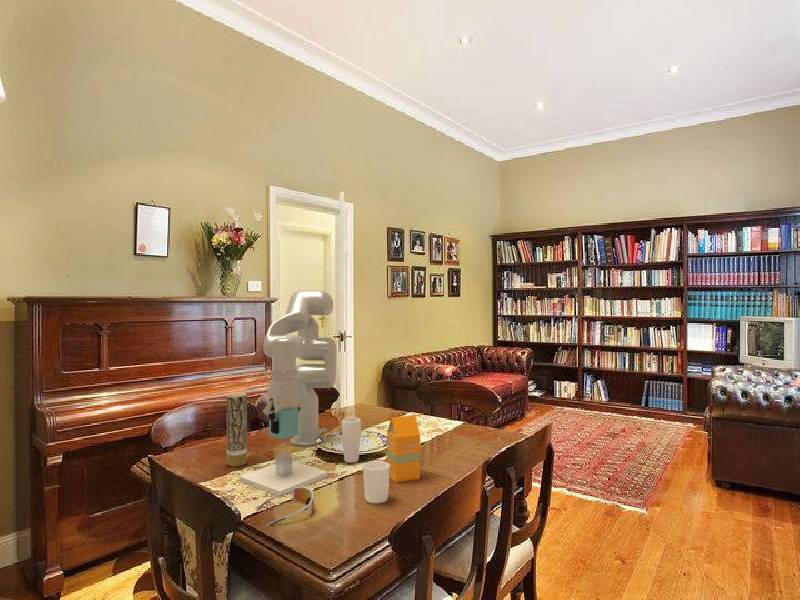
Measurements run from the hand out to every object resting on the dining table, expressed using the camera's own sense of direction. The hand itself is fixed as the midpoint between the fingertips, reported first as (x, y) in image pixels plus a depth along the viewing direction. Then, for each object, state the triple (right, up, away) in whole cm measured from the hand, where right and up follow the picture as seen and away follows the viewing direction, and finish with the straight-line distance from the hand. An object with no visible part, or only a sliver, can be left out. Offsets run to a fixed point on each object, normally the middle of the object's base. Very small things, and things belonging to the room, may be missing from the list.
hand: (283, 430), depth 160 cm
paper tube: (-20, -16, +14) cm, 29 cm away
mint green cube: (0, -2, 0) cm, 2 cm away
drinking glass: (+20, -16, +18) cm, 31 cm away
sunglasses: (+7, -17, -23) cm, 29 cm away
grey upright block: (0, -14, +1) cm, 14 cm away
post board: (0, -16, +1) cm, 16 cm away
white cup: (+31, -17, -15) cm, 38 cm away
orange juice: (+39, -16, +3) cm, 42 cm away
